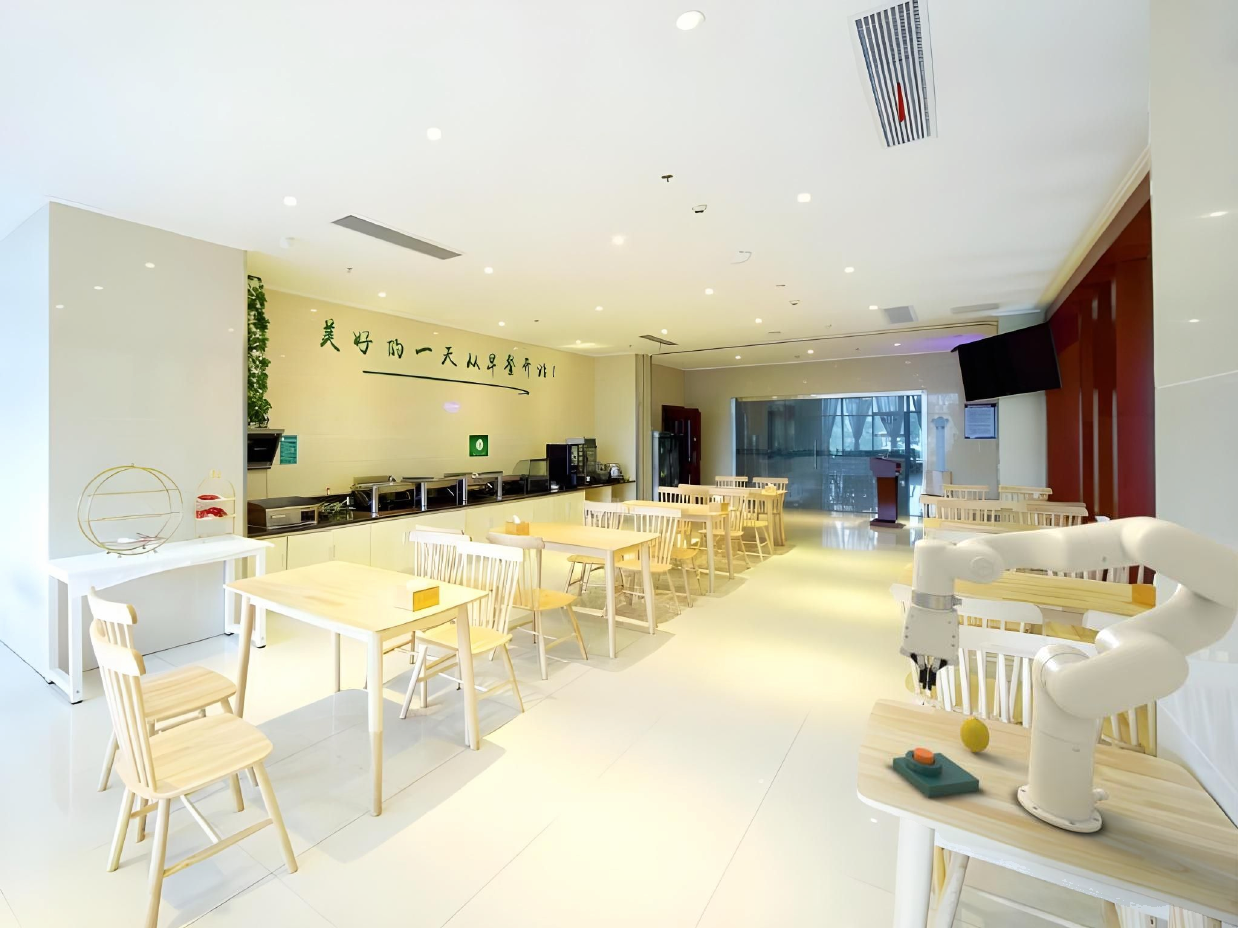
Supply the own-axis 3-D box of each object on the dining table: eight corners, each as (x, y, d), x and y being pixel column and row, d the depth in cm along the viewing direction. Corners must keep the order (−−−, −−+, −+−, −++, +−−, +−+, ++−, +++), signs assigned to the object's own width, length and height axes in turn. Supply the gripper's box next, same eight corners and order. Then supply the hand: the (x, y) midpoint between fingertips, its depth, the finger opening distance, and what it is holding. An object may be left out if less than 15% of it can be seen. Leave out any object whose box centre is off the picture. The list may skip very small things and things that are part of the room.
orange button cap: (924, 754, 118) (924, 746, 118) (937, 764, 114) (937, 756, 114) (909, 756, 117) (910, 748, 117) (922, 766, 114) (923, 757, 114)
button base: (939, 762, 122) (940, 744, 121) (978, 790, 112) (980, 771, 112) (892, 767, 119) (893, 749, 119) (928, 797, 109) (929, 777, 109)
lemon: (960, 742, 130) (962, 709, 130) (988, 751, 127) (990, 716, 126) (958, 753, 125) (960, 718, 125) (987, 762, 122) (989, 726, 122)
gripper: (975, 602, 114) (969, 690, 114) (893, 589, 121) (889, 672, 122) (975, 611, 107) (970, 704, 108) (889, 597, 115) (885, 684, 116)
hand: (927, 687), depth 115 cm, fingers closed
